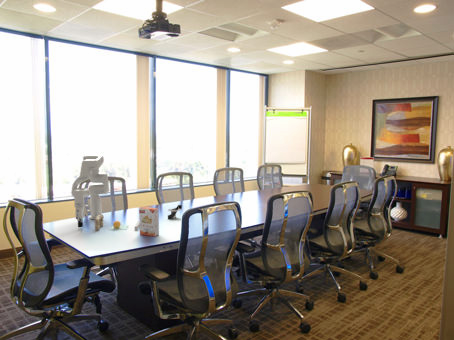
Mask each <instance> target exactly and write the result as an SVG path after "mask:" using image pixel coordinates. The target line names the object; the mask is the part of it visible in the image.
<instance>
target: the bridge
mask: <svg viewBox="0 0 454 340" xmlns="http://www.w3.org/2000/svg"><path fill="white" fill-rule="evenodd" d="M103 216H104V214H102V215H98V216H97V217H96V218H95V219H94V231H97V232H98V231H100V227H101V228H103V227H104V217H103Z"/></svg>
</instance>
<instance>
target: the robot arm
mask: <svg viewBox="0 0 454 340" xmlns="http://www.w3.org/2000/svg"><path fill="white" fill-rule="evenodd" d="M104 160H105V159H104V156H103V155H101V154H85V155H84V156H82V161H81V166H80V173H79V176H78V177H77V178H76V179H75V180H74V182H73V184H72V187H71V197H73V200H74V202H73V203H74V207H75V220H76V221H77V227H78V228H83V226H84V225H83V223H84V222H83V221H84V220H83V219H85V217H86V213H85V212H86V211H85V198H88V197H90V198H89V199H90V201H89V202H90V216H88V218H89V219H90V220H95V218H96V217H97V216H98V215H103V213H102V212H103V211H102V197H101V196H100V195H108V193H110V185H109V176H108V173H106V172H100V170H99V169H100V168H101V166H102V165H103V163H104ZM88 180H89V181H90V182H91V183H92V184H90V185H89V186H88V187H87V188H85V187H83V188H82V187H78V186H79V185H80V184H82V183H83V182H85V181H88ZM103 218H104V215H103Z"/></svg>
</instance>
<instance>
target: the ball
mask: <svg viewBox="0 0 454 340" xmlns="http://www.w3.org/2000/svg"><path fill="white" fill-rule="evenodd" d="M112 226H113V227H114V228H119V227H120V226H122V225H121V222H120V221H118V220H115V221H114V222H113V224H112Z"/></svg>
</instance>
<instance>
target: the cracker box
mask: <svg viewBox="0 0 454 340" xmlns="http://www.w3.org/2000/svg"><path fill="white" fill-rule="evenodd" d="M159 213H160V212H159V208H157V207H147V206H143V207H142V206H141V207H139V210H138V214H139V216H138V217H139V221H140V226H139V235H141V236H148V237H156V236H159V235H160V231H159V230H160V225H159V222H160V221H159V220H160V218H159Z"/></svg>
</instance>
